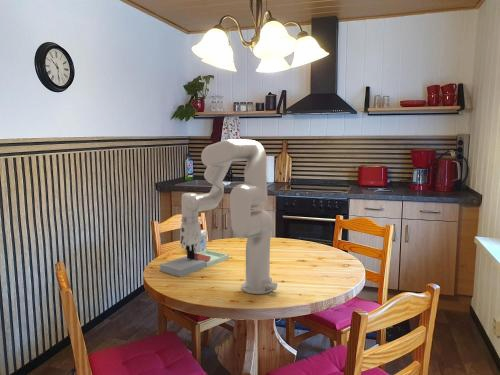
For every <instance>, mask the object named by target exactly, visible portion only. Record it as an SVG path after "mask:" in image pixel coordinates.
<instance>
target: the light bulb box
mask: <svg viewBox="0 0 500 375" xmlns="http://www.w3.org/2000/svg"><path fill="white" fill-rule="evenodd" d="M207 236H208V231H207V230H206V229H201V242H199V244H197V245H196V247H195V250H194V253H198V252H201V251H204V250H208V247H207V246H208V242H207V241H208V240H207V239H208V237H207Z"/></svg>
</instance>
